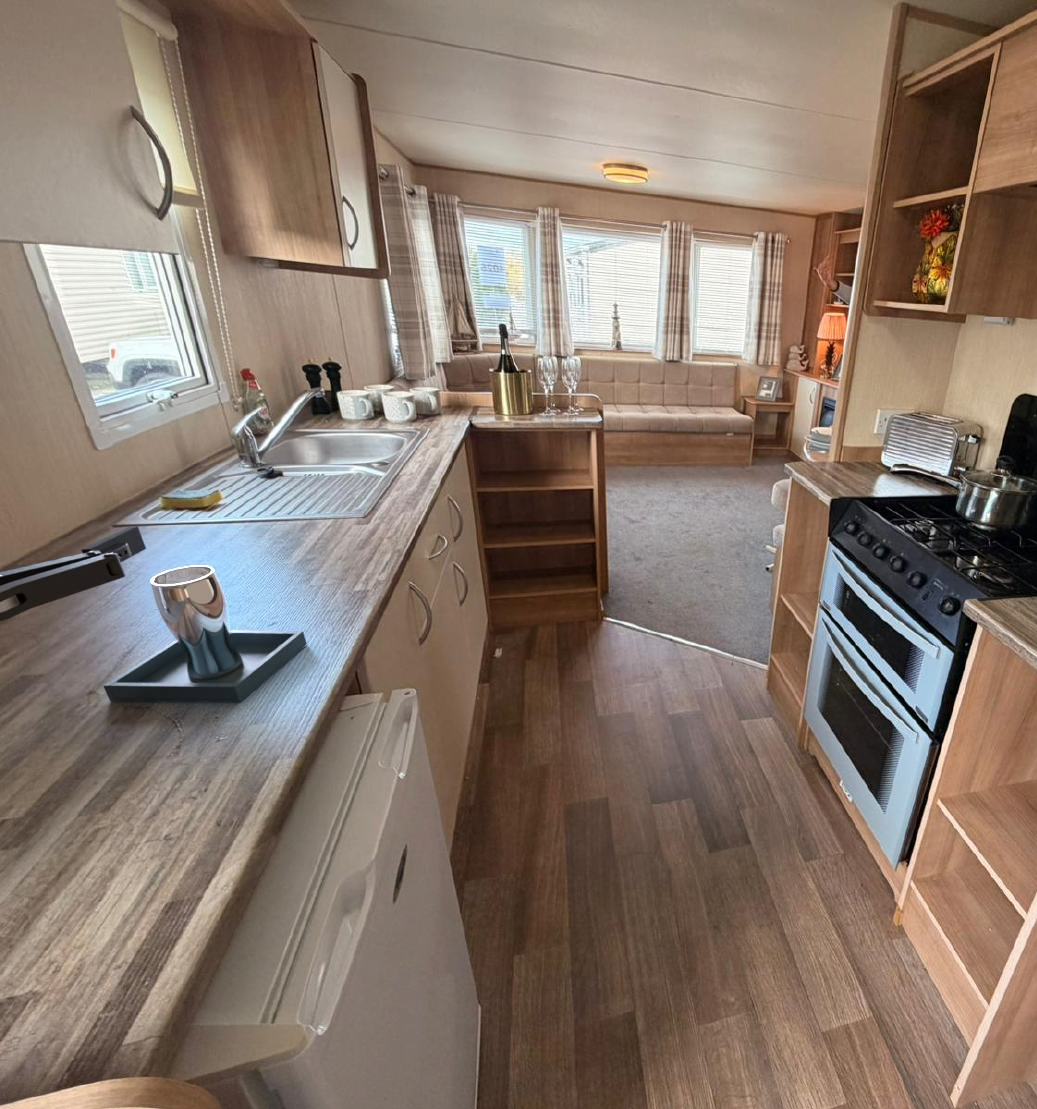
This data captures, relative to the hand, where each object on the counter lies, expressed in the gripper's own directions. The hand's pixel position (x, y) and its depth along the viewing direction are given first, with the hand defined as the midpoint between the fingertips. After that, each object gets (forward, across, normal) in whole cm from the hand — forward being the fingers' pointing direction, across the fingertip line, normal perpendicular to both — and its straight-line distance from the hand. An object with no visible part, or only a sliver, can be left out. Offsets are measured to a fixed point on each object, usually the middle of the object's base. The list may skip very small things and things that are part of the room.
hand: (64, 538), depth 63 cm
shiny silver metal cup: (+13, +1, -26) cm, 29 cm away
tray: (+13, +1, -26) cm, 30 cm away
